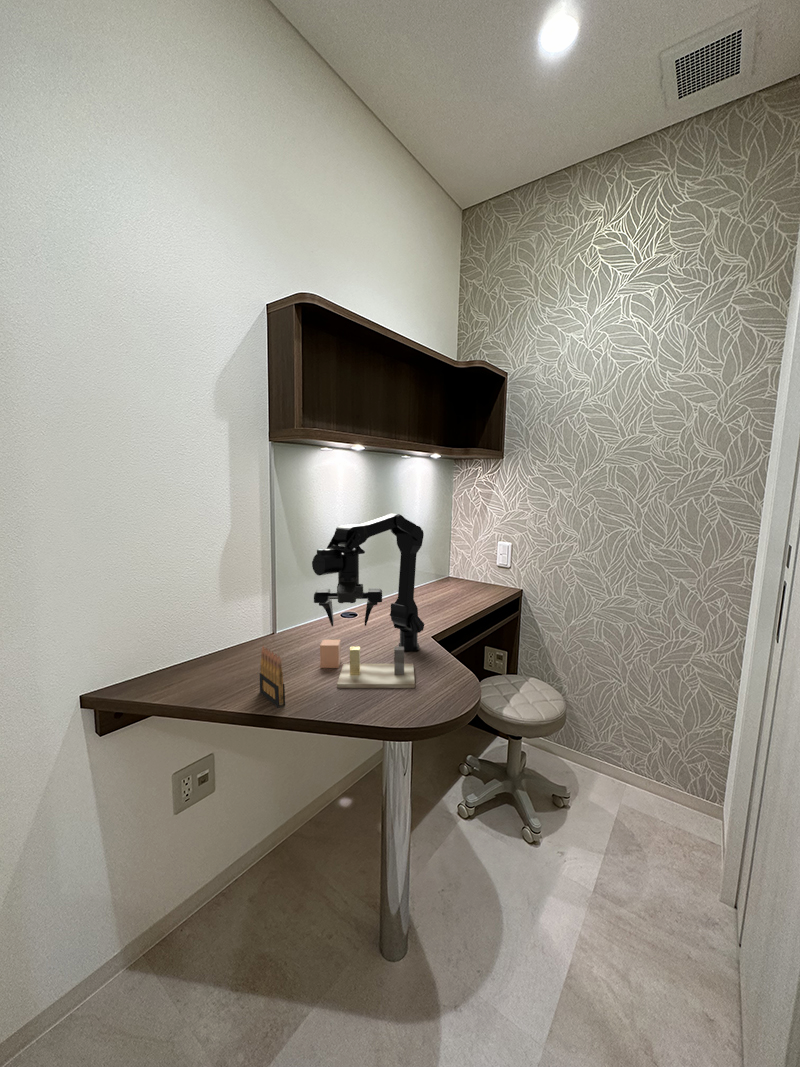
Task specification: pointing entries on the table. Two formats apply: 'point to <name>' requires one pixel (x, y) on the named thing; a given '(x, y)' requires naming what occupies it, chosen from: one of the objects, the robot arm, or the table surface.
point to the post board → (380, 674)
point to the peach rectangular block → (330, 654)
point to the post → (354, 660)
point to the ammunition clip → (272, 678)
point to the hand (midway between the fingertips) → (349, 625)
